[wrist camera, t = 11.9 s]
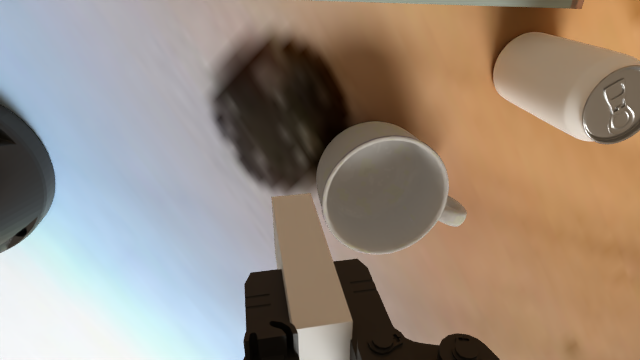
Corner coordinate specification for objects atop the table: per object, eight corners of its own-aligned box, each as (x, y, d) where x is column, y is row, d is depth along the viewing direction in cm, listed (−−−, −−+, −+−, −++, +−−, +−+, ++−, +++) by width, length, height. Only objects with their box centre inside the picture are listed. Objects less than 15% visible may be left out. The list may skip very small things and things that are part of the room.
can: (502, 113, 42) (587, 165, 31) (481, 54, 39) (568, 91, 28) (563, 78, 41) (672, 120, 31) (547, 16, 38) (661, 39, 28)
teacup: (289, 180, 42) (297, 225, 35) (352, 85, 38) (375, 114, 31) (398, 235, 47) (424, 284, 40) (462, 155, 44) (503, 194, 36)
